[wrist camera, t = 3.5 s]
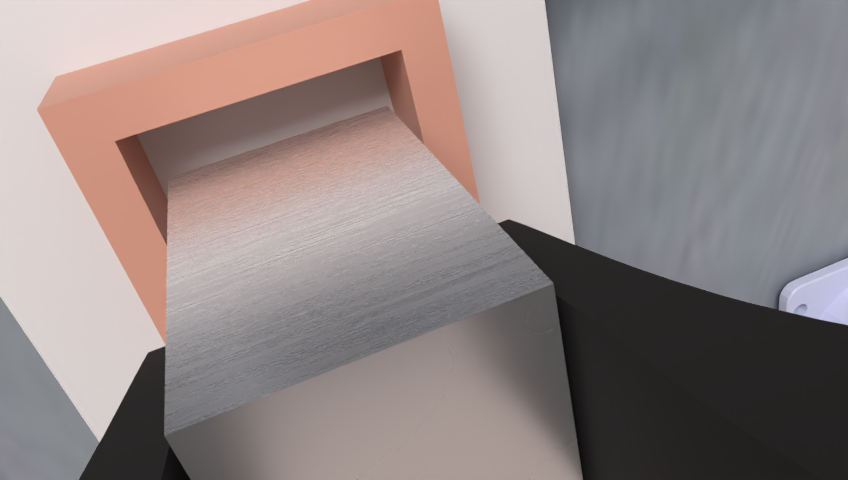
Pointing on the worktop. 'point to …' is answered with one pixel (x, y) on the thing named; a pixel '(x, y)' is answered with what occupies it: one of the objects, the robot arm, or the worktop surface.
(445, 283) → the column
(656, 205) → the worktop surface
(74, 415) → the worktop surface
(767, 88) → the worktop surface
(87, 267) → the stand base
